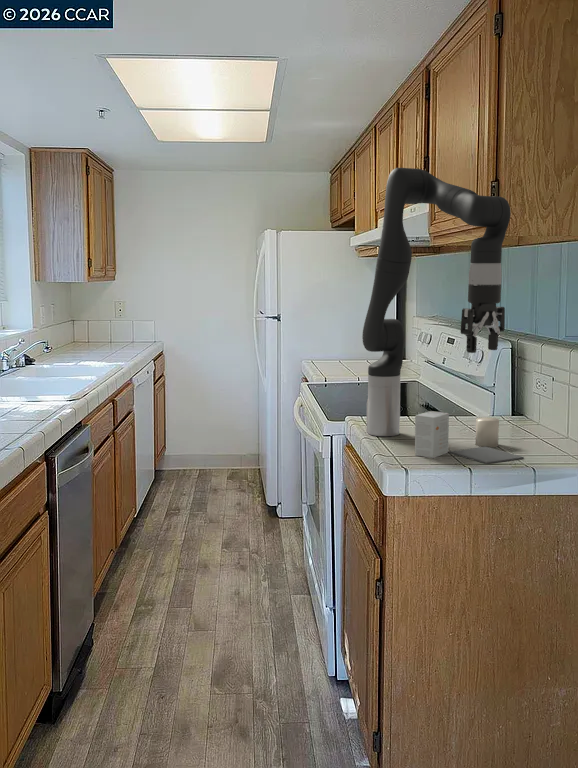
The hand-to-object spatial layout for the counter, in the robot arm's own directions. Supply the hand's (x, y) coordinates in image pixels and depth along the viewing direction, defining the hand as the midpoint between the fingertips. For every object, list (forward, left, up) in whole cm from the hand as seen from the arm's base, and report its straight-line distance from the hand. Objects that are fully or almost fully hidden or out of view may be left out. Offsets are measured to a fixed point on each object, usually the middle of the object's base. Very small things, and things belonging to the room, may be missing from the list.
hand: (482, 351), depth 185 cm
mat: (-6, +7, -27) cm, 29 cm away
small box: (-14, -4, -28) cm, 31 cm away
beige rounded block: (-16, +16, -27) cm, 35 cm away
